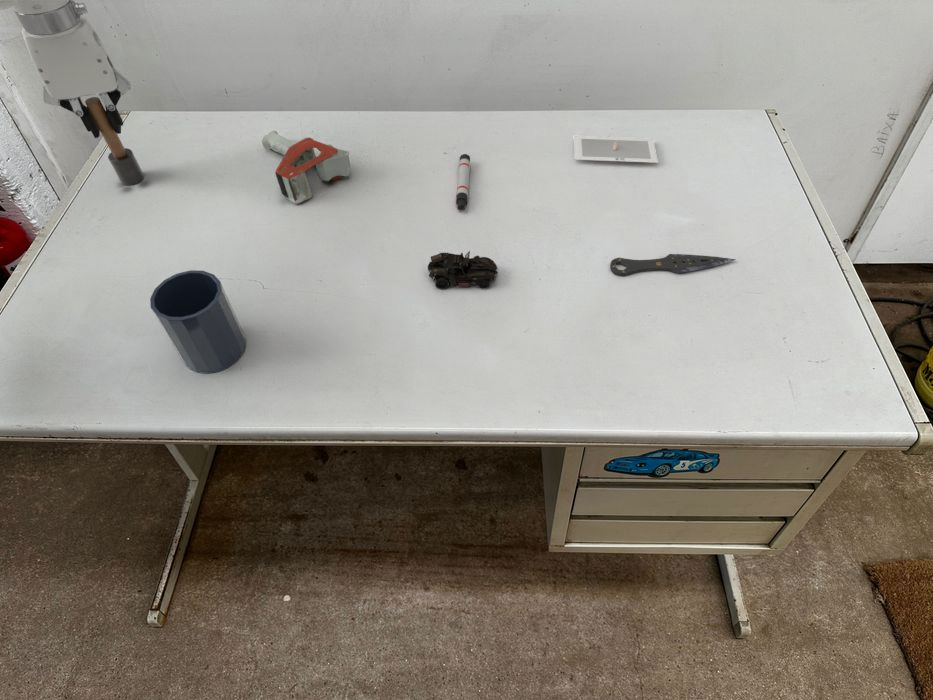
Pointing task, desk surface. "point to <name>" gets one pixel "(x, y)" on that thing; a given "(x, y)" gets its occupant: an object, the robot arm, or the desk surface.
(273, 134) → the tape dispenser
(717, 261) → the throwing knife
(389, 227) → the desk surface
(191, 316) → the pen cup
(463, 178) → the marker
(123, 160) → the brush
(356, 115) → the desk surface
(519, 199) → the desk surface
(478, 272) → the toy car
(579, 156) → the touchpad
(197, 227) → the desk surface
